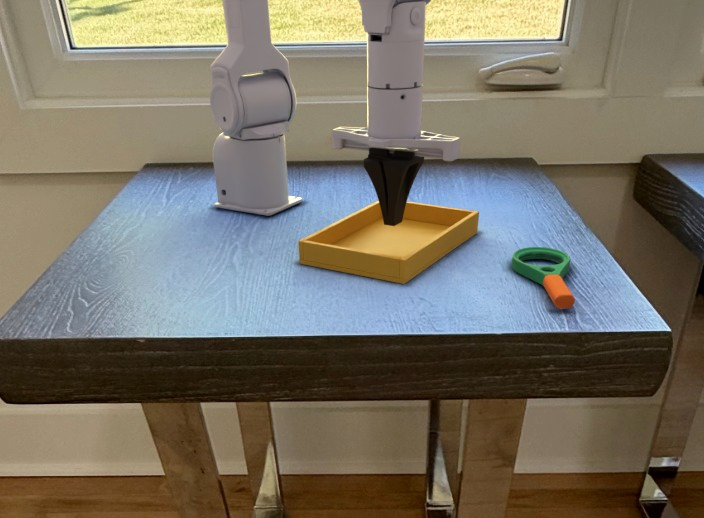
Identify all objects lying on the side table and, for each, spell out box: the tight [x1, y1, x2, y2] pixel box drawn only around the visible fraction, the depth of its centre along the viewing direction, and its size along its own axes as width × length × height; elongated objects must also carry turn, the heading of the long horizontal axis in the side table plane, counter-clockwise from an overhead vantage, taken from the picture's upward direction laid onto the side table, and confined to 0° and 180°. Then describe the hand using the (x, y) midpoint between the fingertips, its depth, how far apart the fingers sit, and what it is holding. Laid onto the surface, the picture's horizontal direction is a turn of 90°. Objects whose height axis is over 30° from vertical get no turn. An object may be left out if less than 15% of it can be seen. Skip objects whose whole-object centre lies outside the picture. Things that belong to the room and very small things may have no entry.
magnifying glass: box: [511, 246, 576, 310], centre depth 72 cm, size 15×6×2 cm, turn 179°
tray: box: [297, 200, 480, 285], centre depth 82 cm, size 13×19×2 cm
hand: (393, 223), depth 81 cm, fingers closed
